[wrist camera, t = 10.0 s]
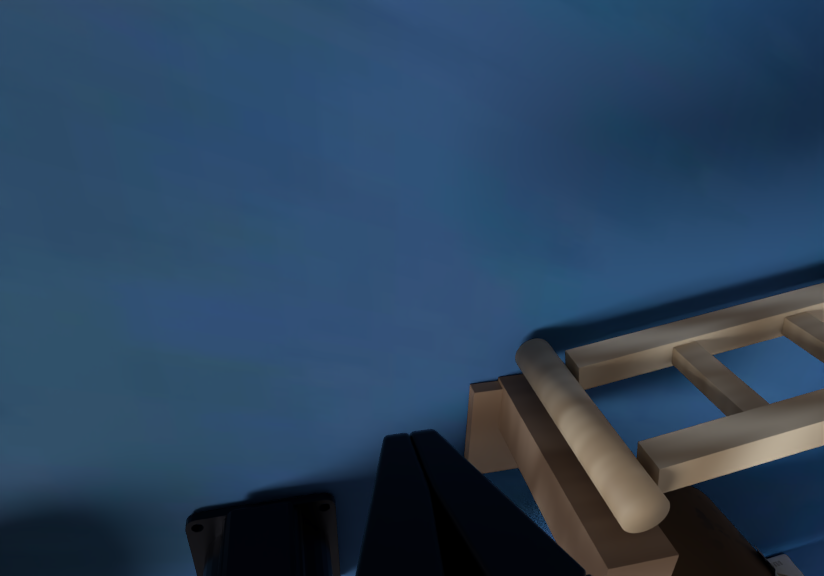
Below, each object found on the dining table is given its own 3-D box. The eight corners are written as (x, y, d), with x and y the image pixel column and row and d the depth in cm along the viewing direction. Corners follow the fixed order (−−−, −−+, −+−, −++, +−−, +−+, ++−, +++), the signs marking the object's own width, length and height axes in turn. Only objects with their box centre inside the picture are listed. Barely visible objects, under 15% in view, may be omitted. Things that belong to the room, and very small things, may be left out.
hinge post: (558, 451, 28) (675, 643, 20) (463, 466, 27) (545, 674, 19) (574, 367, 26) (715, 547, 18) (470, 380, 25) (568, 577, 17)
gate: (516, 373, 24) (619, 539, 17) (514, 343, 23) (622, 504, 16) (854, 283, 26) (1076, 399, 19) (863, 253, 25) (1098, 361, 18)
